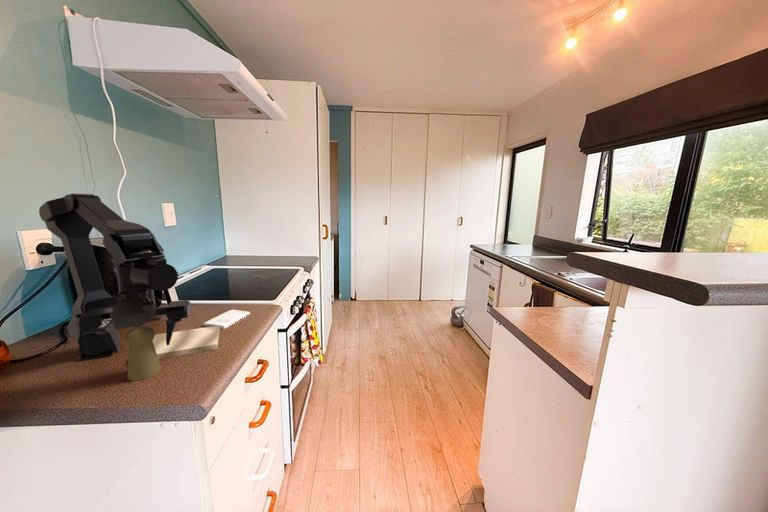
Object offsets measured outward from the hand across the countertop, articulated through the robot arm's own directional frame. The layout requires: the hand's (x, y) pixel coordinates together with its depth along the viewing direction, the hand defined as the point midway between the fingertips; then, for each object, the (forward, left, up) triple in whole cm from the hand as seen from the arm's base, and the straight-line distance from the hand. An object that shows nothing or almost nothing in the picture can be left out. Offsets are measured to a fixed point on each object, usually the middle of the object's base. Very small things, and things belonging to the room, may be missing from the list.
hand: (143, 348), depth 65 cm
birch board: (+5, +12, -6) cm, 14 cm away
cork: (0, 0, -6) cm, 6 cm away
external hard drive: (+16, +26, -7) cm, 31 cm away
